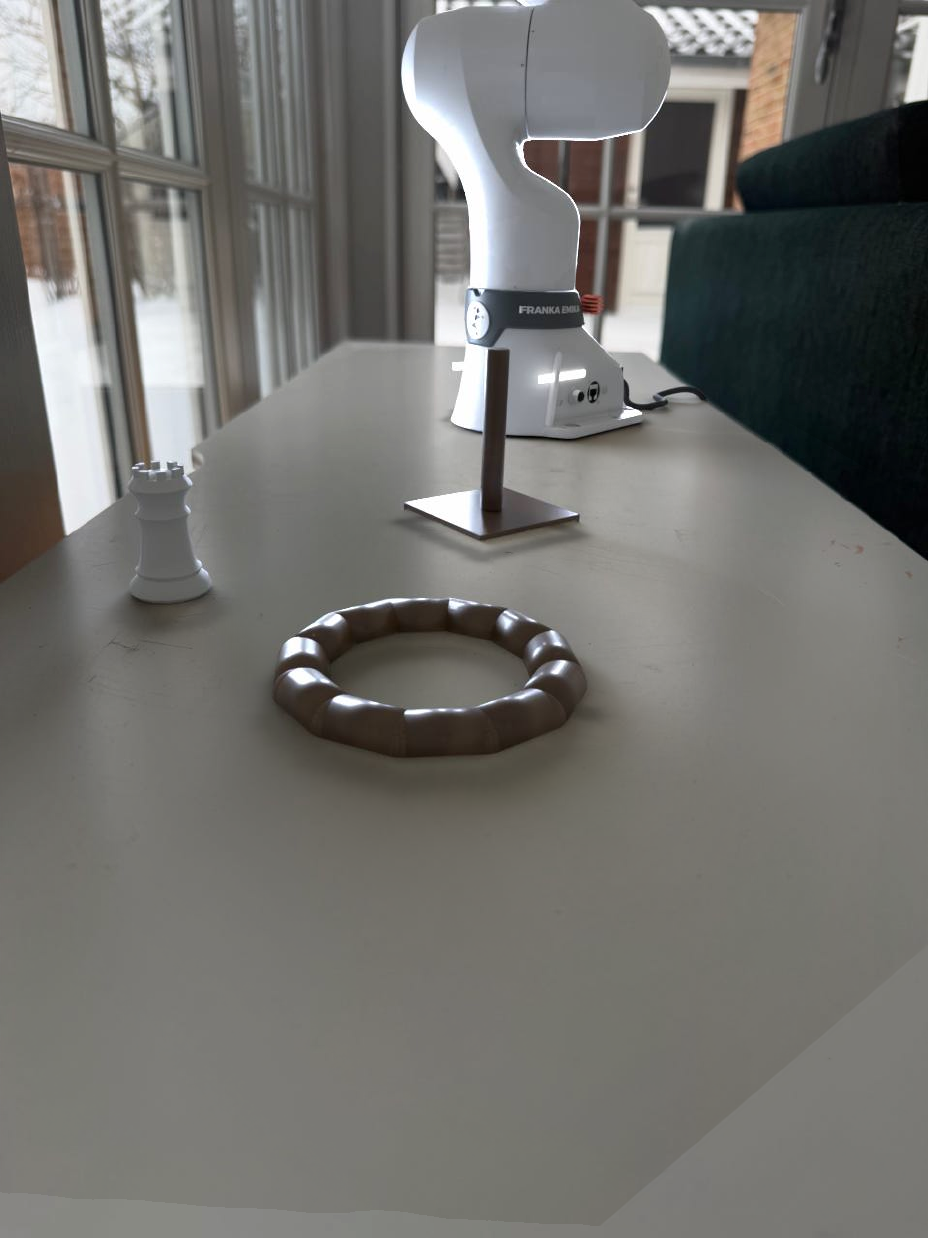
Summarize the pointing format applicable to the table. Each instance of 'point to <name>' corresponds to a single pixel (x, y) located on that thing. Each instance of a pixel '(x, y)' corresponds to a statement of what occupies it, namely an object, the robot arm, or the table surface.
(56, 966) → the table surface
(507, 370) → the post
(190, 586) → the rook chess piece
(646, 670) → the table surface
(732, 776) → the table surface
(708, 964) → the table surface
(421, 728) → the ring
